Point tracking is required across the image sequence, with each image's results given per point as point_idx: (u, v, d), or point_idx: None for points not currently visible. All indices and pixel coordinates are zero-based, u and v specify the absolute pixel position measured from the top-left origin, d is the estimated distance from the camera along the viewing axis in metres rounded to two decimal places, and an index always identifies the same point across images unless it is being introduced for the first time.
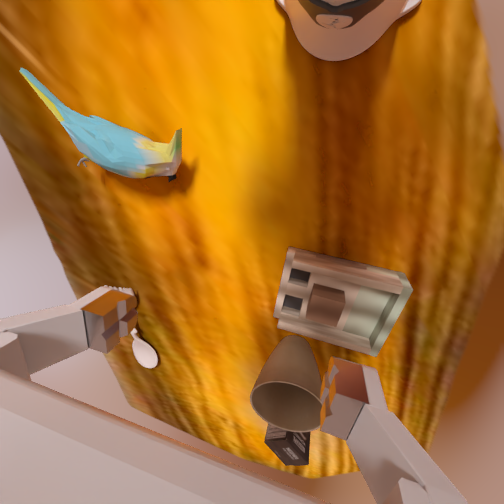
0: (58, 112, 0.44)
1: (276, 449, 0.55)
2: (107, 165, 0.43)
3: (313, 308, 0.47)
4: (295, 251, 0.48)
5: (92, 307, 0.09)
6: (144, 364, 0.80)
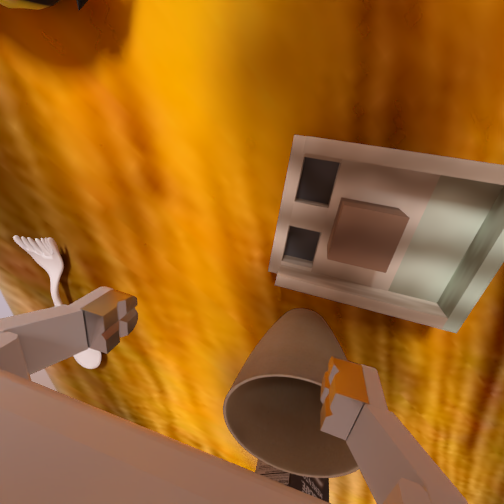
0: None
1: None
2: None
3: (344, 235, 0.25)
4: None
5: (92, 307, 0.09)
6: (83, 363, 0.56)
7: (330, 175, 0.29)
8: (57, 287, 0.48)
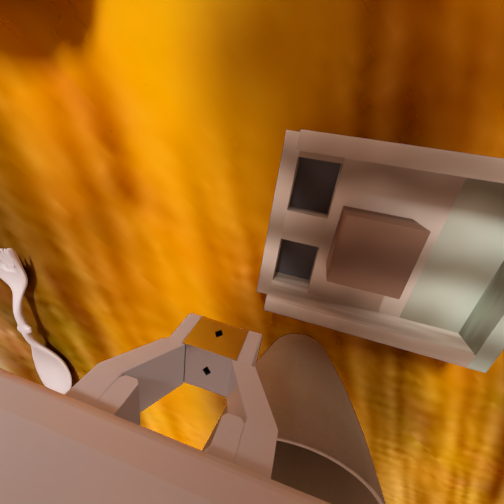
0: None
1: None
2: None
3: (347, 252, 0.20)
4: None
5: (193, 339, 0.08)
6: (52, 388, 0.50)
7: (329, 179, 0.24)
8: (20, 304, 0.42)
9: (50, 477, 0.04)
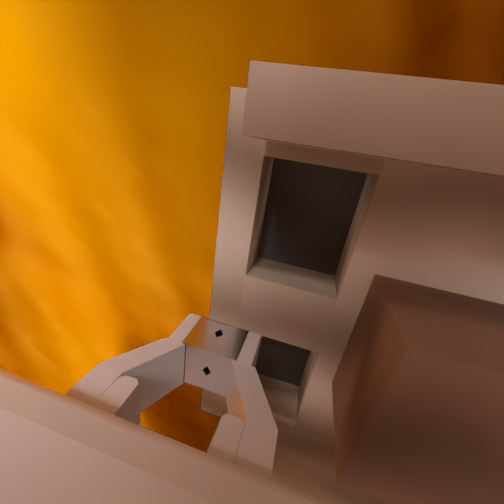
0: None
1: None
2: None
3: (399, 437, 0.07)
4: None
5: (193, 339, 0.08)
6: None
7: (340, 207, 0.11)
8: None
9: (50, 477, 0.04)
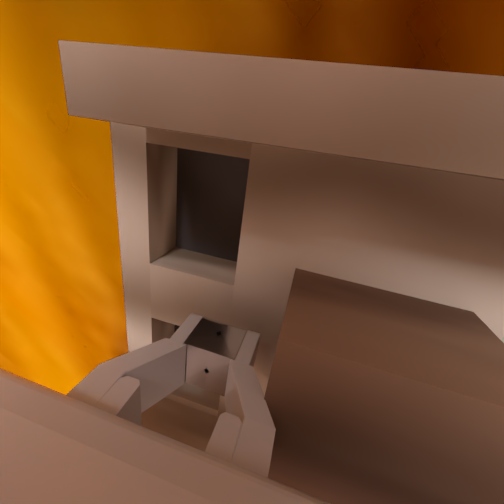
0: None
1: None
2: None
3: (290, 432, 0.07)
4: None
5: (194, 340, 0.08)
6: None
7: (243, 195, 0.11)
8: None
9: (50, 477, 0.04)
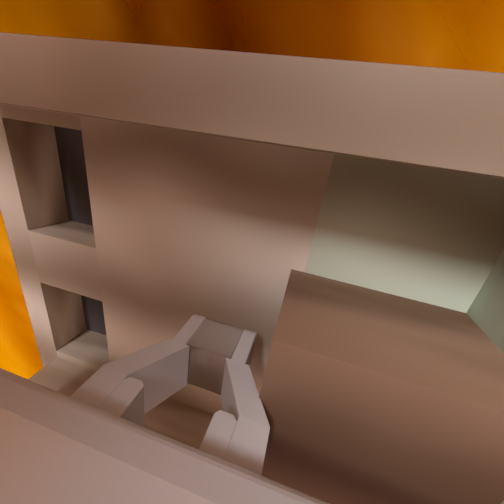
0: None
1: None
2: None
3: (284, 432, 0.07)
4: None
5: (197, 341, 0.08)
6: None
7: None
8: None
9: (50, 477, 0.04)
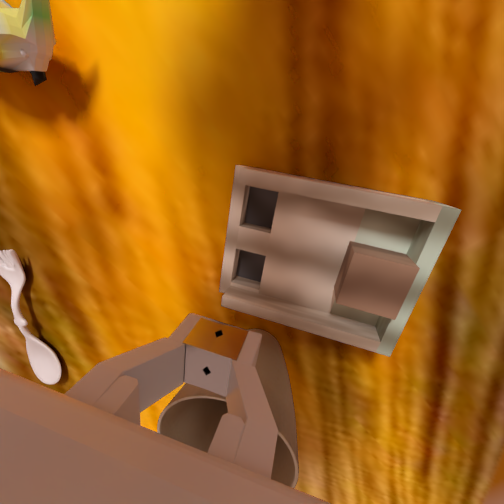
0: None
1: None
2: None
3: (353, 281, 0.25)
4: (250, 167, 0.29)
5: (193, 339, 0.08)
6: (43, 378, 0.55)
7: (273, 202, 0.31)
8: (18, 299, 0.48)
9: (50, 477, 0.04)
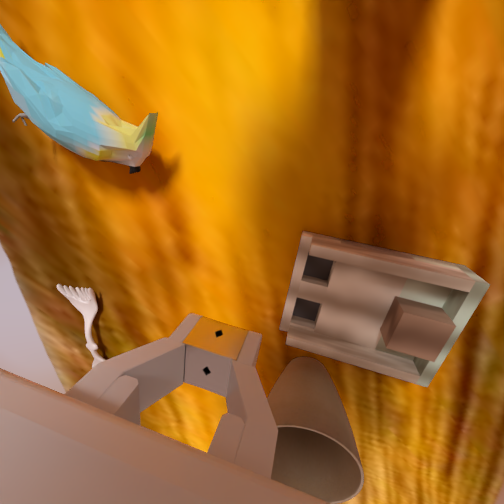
0: None
1: None
2: (48, 131, 0.32)
3: (402, 332, 0.32)
4: (312, 235, 0.35)
5: (193, 340, 0.08)
6: None
7: (328, 260, 0.37)
8: (90, 327, 0.55)
9: (50, 477, 0.04)
